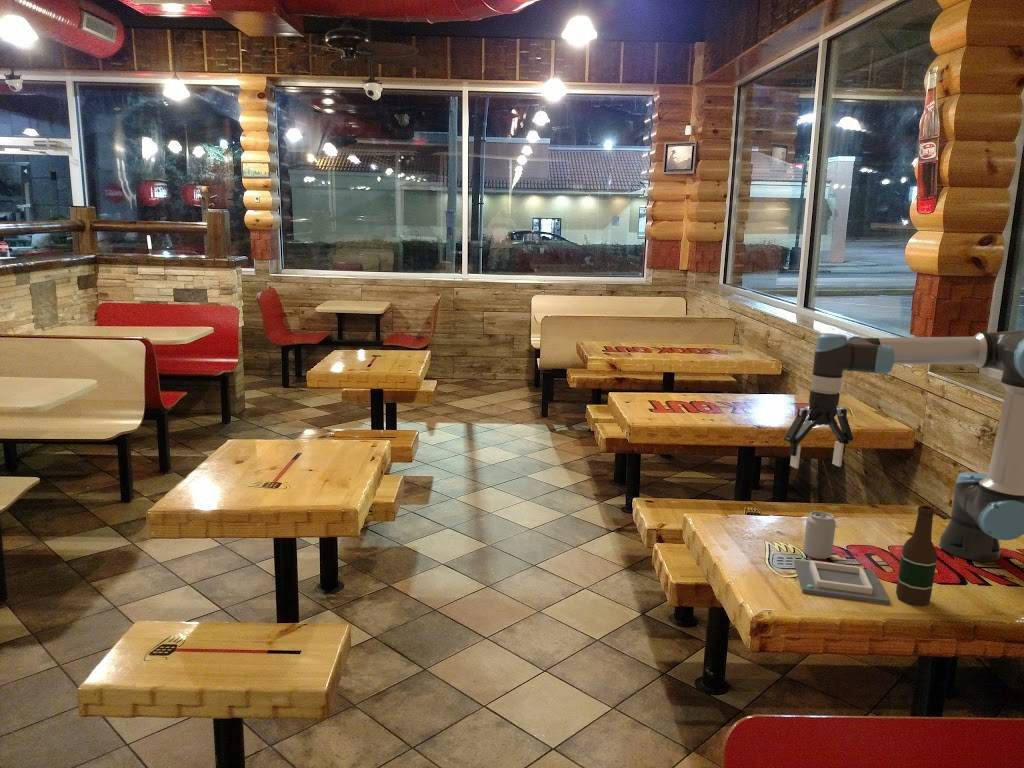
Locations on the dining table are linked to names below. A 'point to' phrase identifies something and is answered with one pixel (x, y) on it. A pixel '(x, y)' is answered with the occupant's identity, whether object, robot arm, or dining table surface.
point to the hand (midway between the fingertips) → (815, 466)
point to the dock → (840, 581)
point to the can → (819, 535)
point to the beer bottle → (918, 562)
